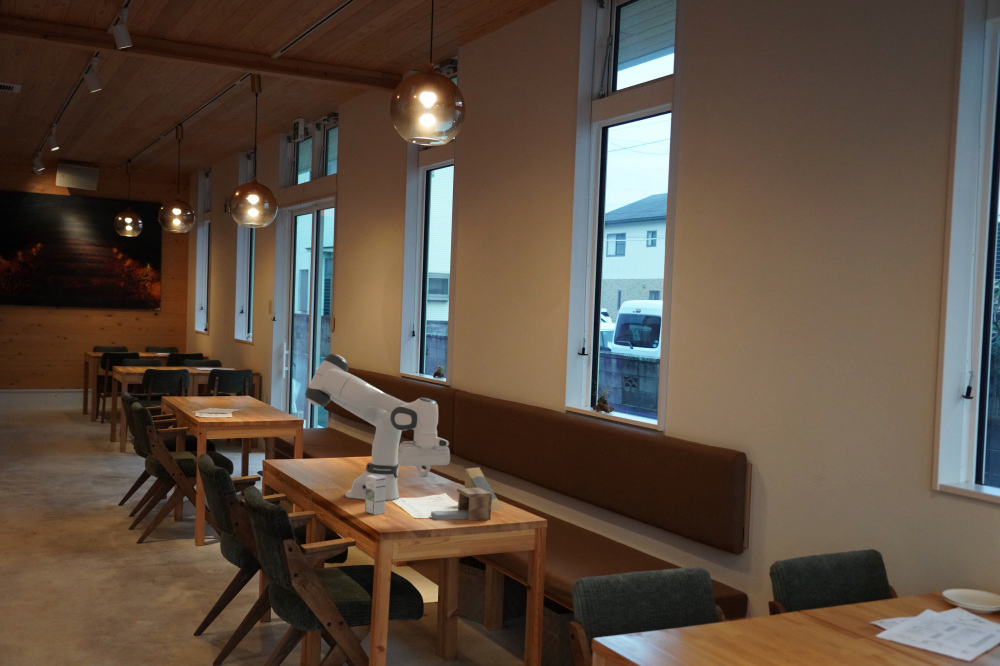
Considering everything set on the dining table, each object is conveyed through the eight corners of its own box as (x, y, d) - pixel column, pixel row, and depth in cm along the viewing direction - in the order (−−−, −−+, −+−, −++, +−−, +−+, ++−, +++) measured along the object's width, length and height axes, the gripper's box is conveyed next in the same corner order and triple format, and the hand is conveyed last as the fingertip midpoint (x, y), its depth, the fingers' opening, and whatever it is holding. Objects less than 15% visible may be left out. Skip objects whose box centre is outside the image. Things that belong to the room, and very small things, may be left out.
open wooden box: (466, 520, 333) (468, 494, 333) (455, 514, 343) (456, 488, 343) (490, 519, 337) (492, 493, 337) (478, 512, 347) (480, 487, 347)
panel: (436, 521, 331) (436, 514, 331) (430, 517, 337) (431, 511, 336) (484, 518, 340) (484, 512, 340) (477, 515, 345) (478, 509, 345)
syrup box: (385, 513, 337) (387, 476, 337) (373, 515, 332) (375, 477, 332) (375, 510, 341) (377, 473, 340) (363, 512, 336) (365, 475, 336)
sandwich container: (489, 511, 352) (492, 474, 352) (463, 504, 363) (465, 468, 362) (503, 508, 359) (506, 472, 359) (477, 502, 369) (479, 466, 369)
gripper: (402, 442, 323) (400, 479, 323) (452, 441, 332) (450, 477, 332) (396, 439, 328) (394, 476, 328) (446, 439, 337) (444, 474, 338)
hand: (423, 476), depth 330 cm, fingers closed
